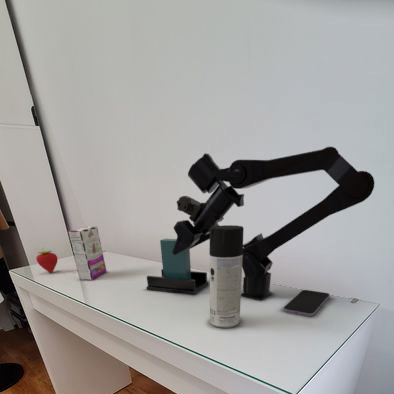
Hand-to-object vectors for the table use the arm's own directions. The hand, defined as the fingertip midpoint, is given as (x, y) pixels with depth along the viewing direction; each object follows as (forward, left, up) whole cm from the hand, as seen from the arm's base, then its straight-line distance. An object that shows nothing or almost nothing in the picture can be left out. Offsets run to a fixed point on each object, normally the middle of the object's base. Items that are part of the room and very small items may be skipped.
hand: (181, 250), depth 83 cm
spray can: (-26, +14, -11) cm, 31 cm away
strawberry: (+58, +16, -11) cm, 61 cm away
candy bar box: (+38, +9, -11) cm, 41 cm away
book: (+2, +1, -10) cm, 10 cm away
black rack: (+2, +1, -11) cm, 11 cm away
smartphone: (-36, -7, -11) cm, 38 cm away
